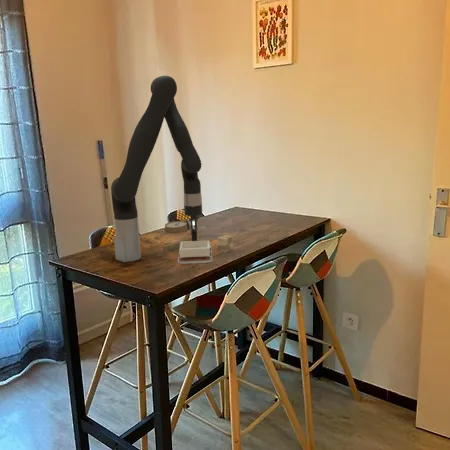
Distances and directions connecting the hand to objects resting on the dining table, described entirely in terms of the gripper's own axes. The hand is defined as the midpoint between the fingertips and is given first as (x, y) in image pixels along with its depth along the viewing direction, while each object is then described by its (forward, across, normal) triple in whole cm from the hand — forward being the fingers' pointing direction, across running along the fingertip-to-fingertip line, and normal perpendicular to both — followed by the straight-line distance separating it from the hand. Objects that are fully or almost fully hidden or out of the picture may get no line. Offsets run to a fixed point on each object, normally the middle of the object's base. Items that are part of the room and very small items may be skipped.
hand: (194, 243), depth 200 cm
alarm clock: (+4, -38, -8) cm, 39 cm away
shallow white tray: (+3, +8, 0) cm, 8 cm away
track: (+3, +5, 0) cm, 6 cm away
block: (+3, +3, +13) cm, 14 cm away
